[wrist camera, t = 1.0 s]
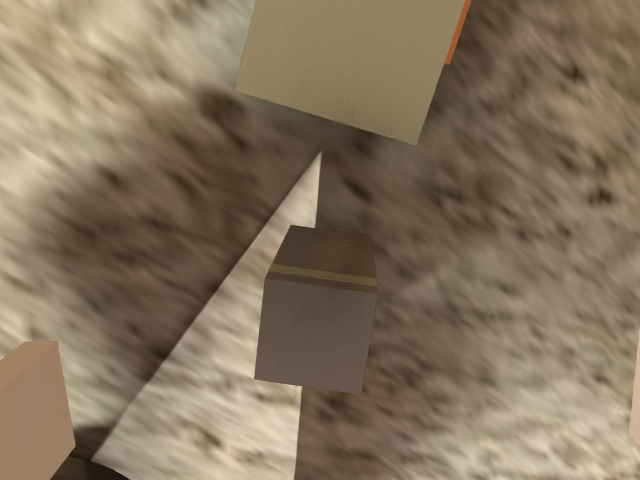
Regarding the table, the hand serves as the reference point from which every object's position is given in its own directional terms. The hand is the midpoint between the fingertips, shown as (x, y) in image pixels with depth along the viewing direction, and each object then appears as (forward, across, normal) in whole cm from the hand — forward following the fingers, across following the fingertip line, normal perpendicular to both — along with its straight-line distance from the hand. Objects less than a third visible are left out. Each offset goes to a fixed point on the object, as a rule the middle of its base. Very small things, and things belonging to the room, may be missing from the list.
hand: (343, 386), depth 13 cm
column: (+22, -1, -4) cm, 22 cm away
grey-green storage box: (+21, +1, +11) cm, 24 cm away
